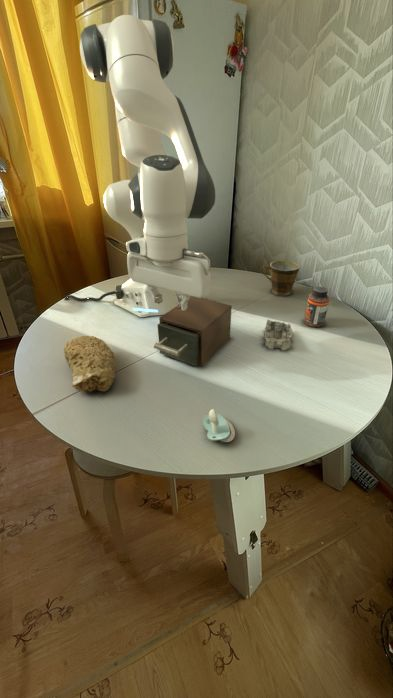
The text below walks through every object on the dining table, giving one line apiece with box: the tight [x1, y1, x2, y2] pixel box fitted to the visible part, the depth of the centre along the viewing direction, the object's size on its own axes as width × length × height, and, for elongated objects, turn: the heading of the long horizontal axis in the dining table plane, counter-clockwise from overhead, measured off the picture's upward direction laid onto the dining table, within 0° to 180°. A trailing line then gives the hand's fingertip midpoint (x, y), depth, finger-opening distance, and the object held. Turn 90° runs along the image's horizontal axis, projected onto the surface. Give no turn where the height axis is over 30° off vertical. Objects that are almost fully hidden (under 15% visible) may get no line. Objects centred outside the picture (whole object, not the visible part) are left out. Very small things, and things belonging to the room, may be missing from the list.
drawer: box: [153, 322, 199, 367], centre depth 92 cm, size 19×11×9 cm, turn 148°
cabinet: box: [158, 296, 233, 367], centre depth 95 cm, size 16×13×11 cm
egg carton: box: [263, 319, 293, 351], centre depth 99 cm, size 11×8×4 cm
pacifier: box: [202, 408, 236, 443], centre depth 69 cm, size 7×6×6 cm
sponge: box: [63, 335, 116, 393], centre depth 87 cm, size 13×8×20 cm
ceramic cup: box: [260, 259, 301, 297], centre depth 124 cm, size 13×10×10 cm
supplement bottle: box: [303, 286, 330, 328], centre depth 105 cm, size 6×6×11 cm
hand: (170, 305), depth 81 cm, fingers open, 5 cm apart
